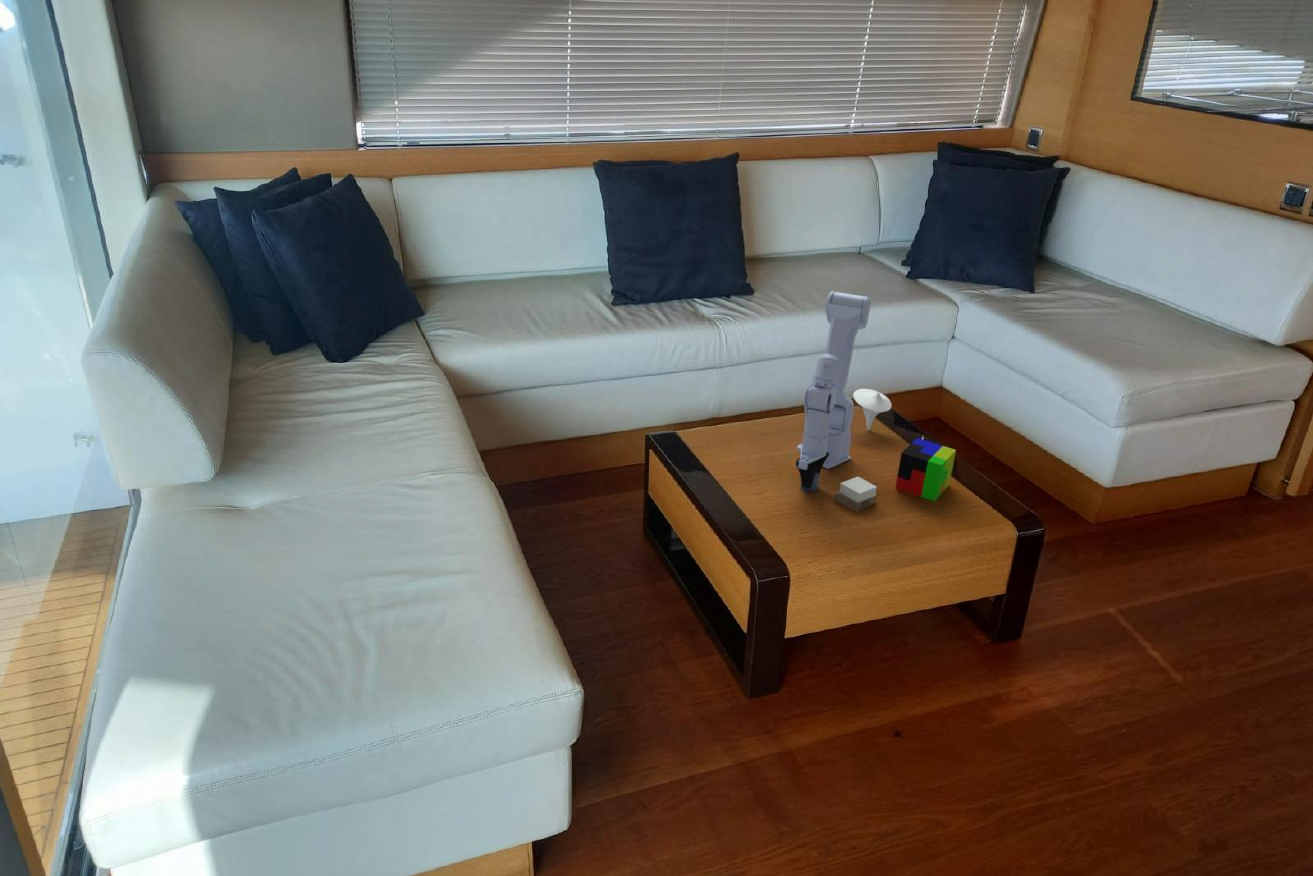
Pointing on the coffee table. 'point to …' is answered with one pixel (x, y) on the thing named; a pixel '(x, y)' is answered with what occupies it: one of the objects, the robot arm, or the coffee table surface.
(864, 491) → the cream top block
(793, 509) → the coffee table surface
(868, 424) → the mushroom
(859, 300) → the robot arm
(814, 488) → the navy rounded cylinder
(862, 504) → the walnut base block
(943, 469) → the puzzle toy
